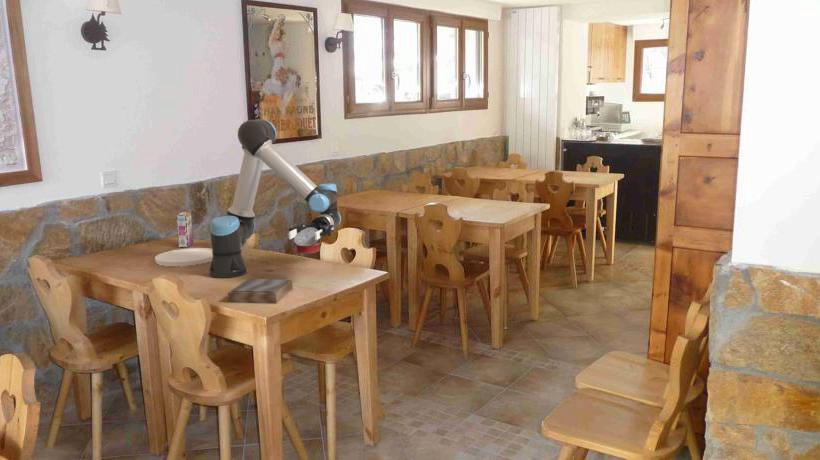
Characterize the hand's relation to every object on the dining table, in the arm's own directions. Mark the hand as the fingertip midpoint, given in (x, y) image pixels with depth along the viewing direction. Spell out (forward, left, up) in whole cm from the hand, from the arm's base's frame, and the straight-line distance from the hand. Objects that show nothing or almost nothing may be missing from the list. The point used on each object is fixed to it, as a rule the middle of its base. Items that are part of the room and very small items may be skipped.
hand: (302, 236), depth 260 cm
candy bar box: (-84, +69, -20) cm, 111 cm away
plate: (-69, +41, -20) cm, 83 cm away
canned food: (0, +4, -7) cm, 8 cm away
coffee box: (-54, +62, -20) cm, 85 cm away
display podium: (-13, -13, -20) cm, 27 cm away
